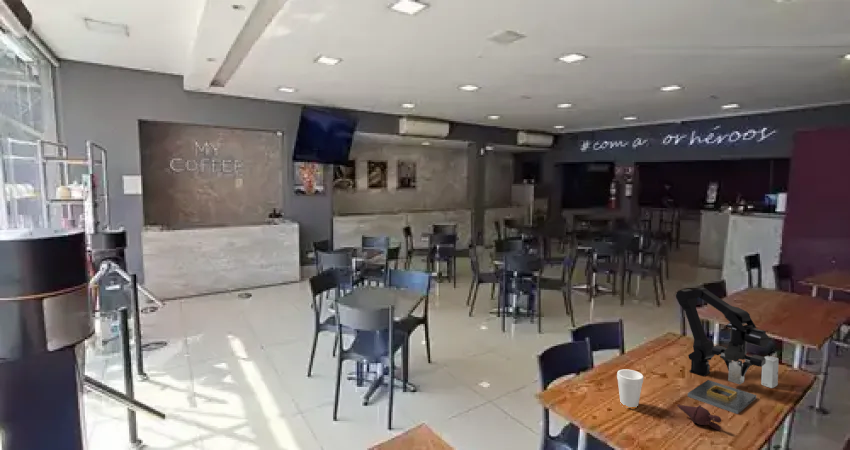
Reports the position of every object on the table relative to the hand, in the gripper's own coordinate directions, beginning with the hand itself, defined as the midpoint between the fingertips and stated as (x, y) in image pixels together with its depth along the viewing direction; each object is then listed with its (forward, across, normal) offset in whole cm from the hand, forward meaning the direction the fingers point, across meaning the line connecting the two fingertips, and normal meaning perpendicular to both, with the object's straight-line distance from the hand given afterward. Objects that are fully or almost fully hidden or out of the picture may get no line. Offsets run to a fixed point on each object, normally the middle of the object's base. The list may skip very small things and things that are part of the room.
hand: (736, 374), depth 190 cm
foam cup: (+6, -20, -51) cm, 55 cm away
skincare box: (+6, +8, +14) cm, 17 cm away
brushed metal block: (+3, 0, 0) cm, 3 cm away
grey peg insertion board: (+6, 0, -15) cm, 16 cm away
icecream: (+6, +2, -44) cm, 44 cm away
